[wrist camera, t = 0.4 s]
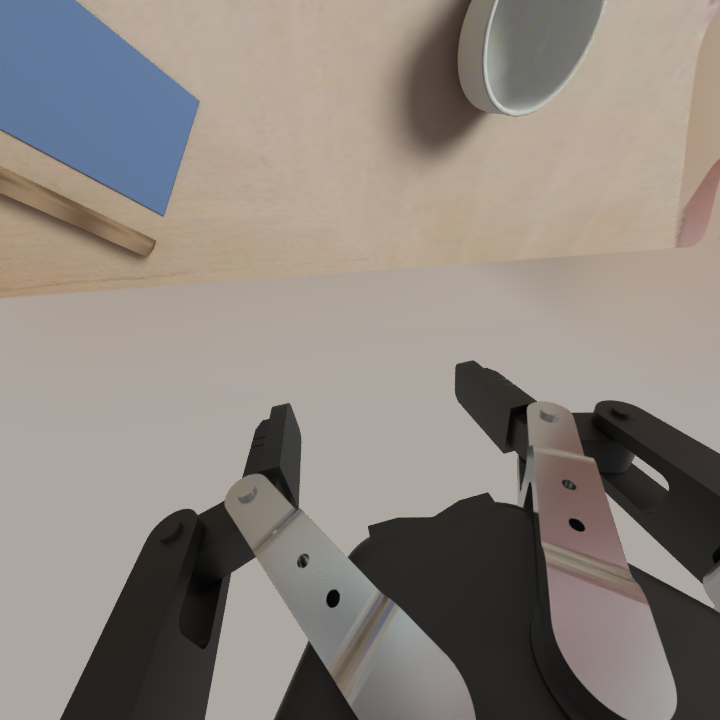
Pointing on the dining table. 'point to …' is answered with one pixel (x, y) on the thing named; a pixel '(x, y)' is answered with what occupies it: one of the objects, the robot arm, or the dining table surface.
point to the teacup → (523, 51)
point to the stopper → (73, 212)
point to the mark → (91, 99)
